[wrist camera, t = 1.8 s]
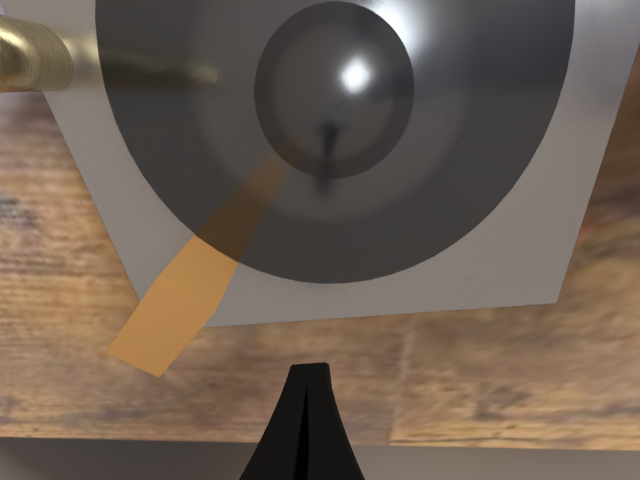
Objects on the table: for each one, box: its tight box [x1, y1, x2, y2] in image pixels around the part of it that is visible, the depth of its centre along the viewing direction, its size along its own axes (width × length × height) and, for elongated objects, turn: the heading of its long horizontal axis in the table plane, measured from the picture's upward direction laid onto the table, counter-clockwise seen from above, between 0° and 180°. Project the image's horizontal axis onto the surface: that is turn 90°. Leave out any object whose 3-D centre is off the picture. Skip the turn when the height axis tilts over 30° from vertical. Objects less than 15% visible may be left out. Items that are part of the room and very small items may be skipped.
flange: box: [95, 0, 576, 378], centre depth 9 cm, size 18×14×4 cm
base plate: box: [0, 0, 640, 328], centre depth 9 cm, size 20×20×6 cm
